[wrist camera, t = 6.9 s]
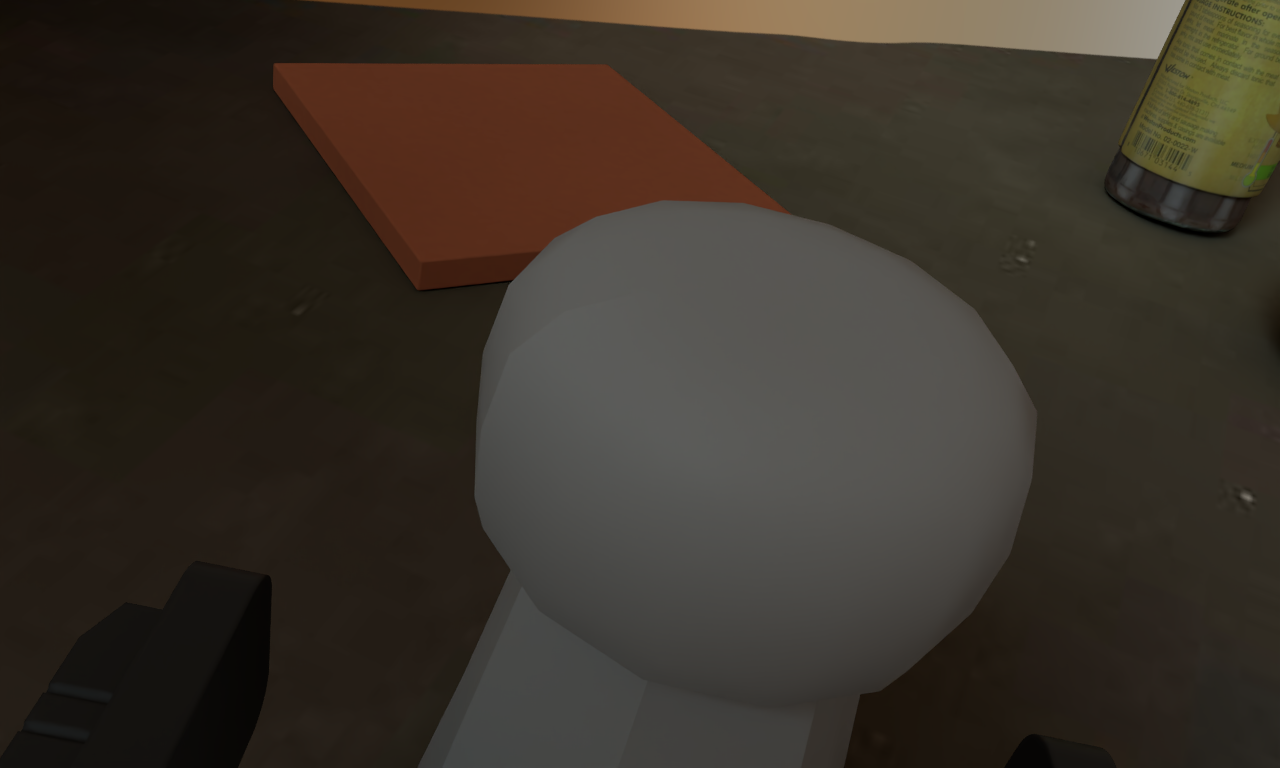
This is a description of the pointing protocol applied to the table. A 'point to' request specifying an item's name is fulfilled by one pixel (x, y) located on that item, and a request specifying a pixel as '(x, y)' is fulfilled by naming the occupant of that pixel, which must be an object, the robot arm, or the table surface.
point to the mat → (495, 157)
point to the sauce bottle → (1205, 118)
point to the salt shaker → (726, 491)
